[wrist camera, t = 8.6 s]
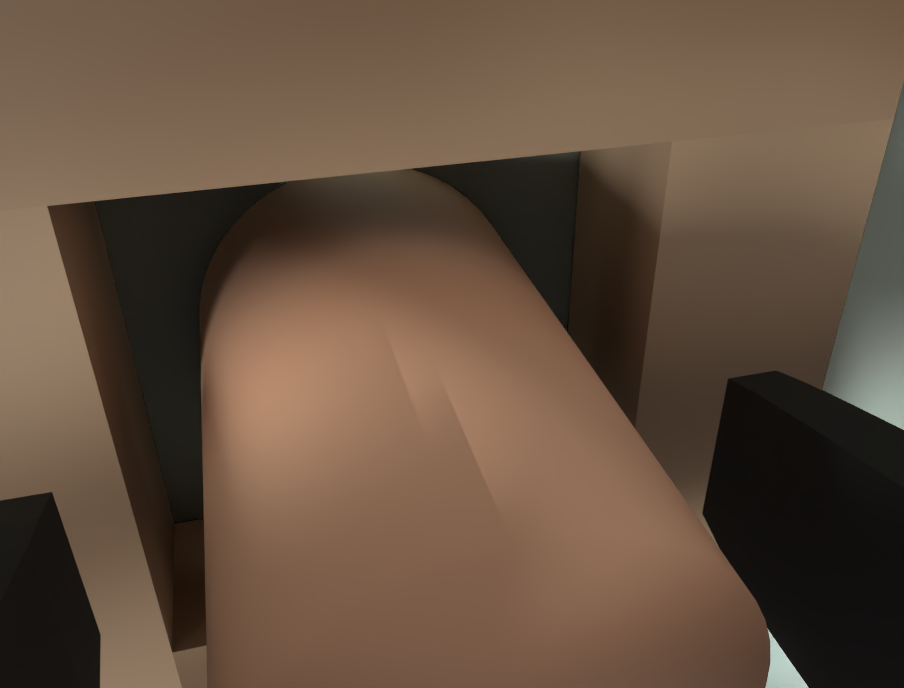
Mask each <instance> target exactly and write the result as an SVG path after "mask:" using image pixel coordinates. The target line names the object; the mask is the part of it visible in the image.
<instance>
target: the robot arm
mask: <svg viewBox="0 0 904 688" xmlns="http://www.w3.org/2000/svg"><path fill="white" fill-rule="evenodd" d="M702 514H703V516H704V518H705V520H706V522H707V524H708V526H709V528H710V530H711V532H712V534H713V536H714V538H715V540H716V542H717V544H718V546H719V548H720V550H721V551H722V553H723V554H724V556H725V557H726V559H727V560H728V561H729V563H730V564H731V566H732V567H733V569H734V570H735V571H736V573H737V574H738V576H739V577H740V578H741V580H742V581H743V583H744V584H745V586H746V587H747V588H748V590H749V591H750V593H751V594H752V596H753V597H754V598H755V600H756V601H757V604H758V606H759V608H760V610H761V612H762V614H763V616H764V618H765V620H766V625H767V628H768V630H769V631H770V633H771V634H772V635H773V637H774V638H775V640H776V641H777V643H778V644H779V646H780V647H781V649H782V650H783V651H784V653H785V654H786V656H787V657H788V659H789V660H790V661H791V663H792V664H793V666H794V667H795V668H796V670H797V671H798V673H799V674H800V676H801V677H802V678H803V680H804V681H805V683H806V684H807V686H808V687H809V688H904V430H902V429H900V428H898V427H896V426H894V425H892V424H890V423H888V422H886V421H884V420H882V419H880V418H878V417H876V416H874V415H872V414H870V413H868V412H866V411H864V410H862V409H860V408H858V407H856V406H854V405H852V404H850V403H848V402H846V401H843V400H841V399H839V398H837V397H835V396H833V395H831V394H829V393H827V392H825V391H823V390H820V389H818V388H816V387H814V386H812V385H810V384H807V383H805V382H803V381H801V380H798V379H796V378H794V377H791V376H789V375H786V374H784V373H781V372H779V371H776V370H775V371H769V372H764V373H758V374H752V375H746V376H740V377H734V378H728V381H727V386H726V391H725V397H724V402H723V407H722V412H721V417H720V423H719V428H718V433H717V438H716V444H715V449H714V454H713V459H712V464H711V470H710V475H709V480H708V485H707V491H706V496H705V501H704V506H703V511H702ZM100 649H101V634H100V631H99V629H98V626H97V623H96V620H95V617H94V614H93V611H92V608H91V605H90V602H89V599H88V596H87V593H86V590H85V587H84V584H83V581H82V579H81V576H80V573H79V570H78V567H77V564H76V561H75V558H74V555H73V552H72V549H71V546H70V543H69V540H68V537H67V534H66V532H65V529H64V526H63V523H62V520H61V517H60V514H59V511H58V508H57V505H56V502H55V499H54V496H53V493H52V492H48V493H42V494H36V495H30V496H24V497H18V498H12V499H6V500H1V501H0V688H100Z"/></svg>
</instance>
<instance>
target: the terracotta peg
mask: <svg viewBox="0 0 904 688" xmlns="http://www.w3.org/2000/svg"><path fill="white" fill-rule="evenodd" d="M200 361H201V408H202V455H203V502H204V550H205V597H206V644H207V688H765V686H766V682H767V677H768V672H769V666H770V638H769V634H768V629H767V625H766V620H765V618H764V616H763V614H762V612H761V610H760V608H759V606H758V604H757V601H756V600H755V598H754V597H753V596H752V594H751V593H750V591H749V590H748V588H747V587H746V586H745V584H744V583H743V581H742V580H741V578H740V577H739V576H738V574H737V573H736V571H735V570H734V569H733V567H732V566H731V564H730V563H729V561H728V560H727V559H726V557H725V556H724V554H723V553H722V551H721V550H720V549H719V547H718V546H717V544H716V543H715V542H714V540H713V539H712V537H711V536H710V534H709V533H708V532H707V530H706V529H705V527H704V526H703V524H702V523H701V522H700V520H699V519H698V517H697V516H696V515H695V513H694V512H693V510H692V509H691V507H690V506H689V505H688V503H687V502H686V500H685V499H684V498H683V496H682V495H681V493H680V492H679V490H678V489H677V488H676V486H675V485H674V483H673V482H672V480H671V479H670V478H669V476H668V475H667V473H666V472H665V471H664V469H663V468H662V466H661V465H660V463H659V462H658V461H657V459H656V458H655V456H654V455H653V453H652V452H651V451H650V449H649V448H648V446H647V445H646V444H645V442H644V441H643V439H642V438H641V436H640V435H639V434H638V432H637V431H636V429H635V428H634V426H633V425H632V424H631V422H630V421H629V419H628V418H627V417H626V415H625V414H624V412H623V411H622V409H621V408H620V407H619V405H618V404H617V402H616V401H615V399H614V398H613V397H612V395H611V394H610V392H609V391H608V390H607V388H606V387H605V385H604V384H603V382H602V381H601V380H600V378H599V377H598V375H597V374H596V373H595V371H594V370H593V368H592V367H591V365H590V364H589V363H588V361H587V360H586V358H585V357H584V355H583V354H582V353H581V351H580V350H579V348H578V347H577V346H576V344H575V343H574V341H573V340H572V338H571V337H570V336H569V334H568V333H567V331H566V330H565V328H564V327H563V326H562V324H561V323H560V321H559V320H558V319H557V317H556V316H555V314H554V313H553V311H552V310H551V309H550V307H549V306H548V304H547V303H546V301H545V300H544V299H543V297H542V296H541V294H540V293H539V292H538V290H537V289H536V287H535V286H534V284H533V283H532V282H531V280H530V279H529V277H528V276H527V274H526V273H525V272H524V270H523V269H522V267H521V266H520V265H519V263H518V262H517V260H516V259H515V257H514V256H513V255H512V253H511V252H510V250H509V249H508V247H507V246H506V245H505V243H504V242H503V240H502V239H501V238H500V236H499V235H498V233H497V232H496V230H495V229H494V228H493V226H492V225H491V223H490V222H489V221H488V220H487V218H486V217H485V216H484V214H483V213H482V212H481V210H480V209H479V208H478V207H476V206H475V205H474V204H473V203H472V202H471V201H470V200H469V199H468V198H467V197H466V196H464V195H463V194H462V193H460V192H459V191H458V190H456V189H455V188H453V187H452V186H450V185H448V184H447V183H445V182H443V181H441V180H439V179H437V178H435V177H433V176H430V175H428V174H425V173H422V172H419V171H416V170H413V169H402V170H392V171H383V172H373V173H363V174H353V175H344V176H334V177H324V178H315V179H305V180H295V181H290V182H288V183H286V184H283V185H282V186H280V187H279V188H277V189H275V190H274V191H272V192H270V193H269V194H267V195H265V196H264V197H263V198H261V199H260V200H259V201H258V202H257V203H255V204H254V205H253V206H252V207H250V208H249V209H248V210H247V211H246V212H245V213H244V214H243V215H242V216H241V217H240V218H239V219H238V220H237V221H236V222H235V223H234V224H233V225H232V227H231V228H230V229H229V231H228V232H227V234H226V235H225V236H224V238H223V239H222V241H221V242H220V244H219V245H218V247H217V249H216V251H215V253H214V255H213V257H212V259H211V261H210V263H209V266H208V269H207V272H206V275H205V278H204V281H203V286H202V292H201V297H200Z"/></svg>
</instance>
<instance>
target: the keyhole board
mask: <svg viewBox="0 0 904 688" xmlns="http://www.w3.org/2000/svg"><path fill="white" fill-rule="evenodd" d="M903 83H904V0H0V501H1V500H6V499H12V498H18V497H24V496H30V495H36V494H42V493H48V492H52V493H53V496H54V499H55V502H56V505H57V508H58V511H59V514H60V517H61V520H62V523H63V526H64V529H65V532H66V534H67V537H68V540H69V543H70V546H71V549H72V552H73V555H74V558H75V561H76V564H77V567H78V570H79V573H80V576H81V579H82V581H83V584H84V587H85V590H86V593H87V596H88V599H89V602H90V605H91V608H92V611H93V614H94V617H95V620H96V623H97V626H98V629H99V631H100V634H101V649H100V688H207V644H206V597H205V550H204V519H200V520H194V521H189V522H183V523H178V524H174V520H173V516H172V512H171V507H170V503H169V499H168V495H167V491H166V487H165V483H164V479H163V475H162V471H161V467H160V463H159V459H158V455H157V451H156V447H155V443H154V439H153V435H152V431H151V427H150V423H149V419H148V415H147V411H146V407H145V403H144V399H143V394H142V390H141V386H140V382H139V378H138V374H137V370H136V366H135V362H134V358H133V354H132V350H131V346H130V342H129V338H128V334H127V330H126V326H125V322H124V318H123V314H122V310H121V306H120V302H119V298H118V294H117V290H116V286H115V282H114V277H113V273H112V269H111V265H110V261H109V257H108V253H107V249H106V245H105V241H104V237H103V233H102V229H101V225H100V221H99V217H98V213H97V209H96V205H95V201H101V200H110V199H120V198H130V197H139V196H149V195H159V194H169V193H178V192H188V191H198V190H208V189H217V188H227V187H237V186H246V185H256V184H266V183H276V182H285V181H295V180H305V179H315V178H324V177H334V176H344V175H353V174H363V173H373V172H383V171H392V170H402V169H412V168H422V167H431V166H441V165H451V164H460V163H470V162H480V161H490V160H499V159H509V158H519V157H529V156H538V155H548V154H558V153H567V152H577V151H581V155H580V169H579V183H578V197H577V211H576V225H575V239H574V253H573V267H572V281H571V295H570V309H569V323H568V334H569V336H570V337H571V338H572V340H573V341H574V343H575V344H576V346H577V347H578V348H579V350H580V351H581V353H582V354H583V355H584V357H585V358H586V360H587V361H588V363H589V364H590V365H591V367H592V368H593V370H594V371H595V373H596V374H597V375H598V377H599V378H600V380H601V381H602V382H603V384H604V385H605V387H606V388H607V390H608V391H609V392H610V394H611V395H612V397H613V398H614V399H615V401H616V402H617V404H618V405H619V407H620V408H621V409H622V411H623V412H624V414H625V415H626V417H627V418H628V419H629V421H630V422H631V424H632V425H633V426H634V428H635V429H636V431H637V432H638V434H639V435H640V436H641V438H642V439H643V441H644V442H645V444H646V445H647V446H648V448H649V449H650V451H651V452H652V453H653V455H654V456H655V458H656V459H657V461H658V462H659V463H660V465H661V466H662V468H663V469H664V471H665V472H666V473H667V475H668V476H669V478H670V479H671V480H672V482H673V483H674V485H675V486H676V488H677V489H678V490H679V492H680V493H681V495H682V496H683V498H684V499H685V500H686V502H687V503H688V505H689V506H690V507H691V509H692V510H693V512H694V513H695V515H696V516H697V517H698V519H699V520H700V522H701V523H702V524H703V526H704V527H705V529H706V530H707V532H708V533H709V534H710V536H711V537H712V539H713V540H714V542H715V543H716V544H717V542H716V540H715V538H714V536H713V534H712V532H711V530H710V528H709V526H708V524H707V522H706V520H705V518H704V516H703V514H702V511H703V506H704V501H705V496H706V491H707V485H708V480H709V475H710V470H711V464H712V459H713V454H714V449H715V444H716V438H717V433H718V428H719V423H720V417H721V412H722V407H723V402H724V397H725V391H726V386H727V381H728V378H734V377H740V376H746V375H752V374H758V373H764V372H769V371H775V370H776V371H779V372H781V373H784V374H786V375H789V376H791V377H794V378H796V379H798V380H801V381H803V382H805V383H807V384H810V385H812V386H814V387H816V388H818V389H820V390H822V387H823V383H824V380H825V376H826V372H827V368H828V365H829V361H830V357H831V353H832V350H833V346H834V342H835V338H836V335H837V331H838V327H839V323H840V320H841V316H842V312H843V308H844V305H845V301H846V297H847V293H848V289H849V286H850V282H851V278H852V274H853V271H854V267H855V263H856V259H857V256H858V252H859V248H860V244H861V241H862V237H863V233H864V229H865V226H866V222H867V218H868V214H869V211H870V207H871V203H872V199H873V196H874V192H875V188H876V184H877V181H878V177H879V173H880V169H881V166H882V162H883V158H884V154H885V151H886V147H887V143H888V139H889V136H890V132H891V128H892V124H893V121H894V117H895V113H896V109H897V106H898V102H899V98H900V94H901V91H902V87H903ZM717 546H718V544H717ZM718 547H719V546H718ZM719 549H720V548H719Z"/></svg>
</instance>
